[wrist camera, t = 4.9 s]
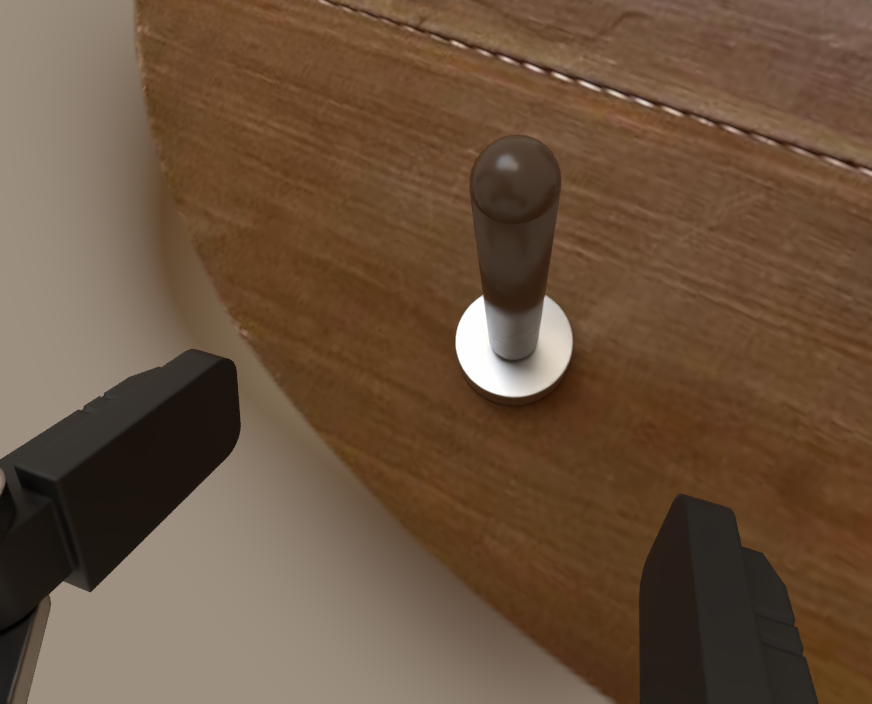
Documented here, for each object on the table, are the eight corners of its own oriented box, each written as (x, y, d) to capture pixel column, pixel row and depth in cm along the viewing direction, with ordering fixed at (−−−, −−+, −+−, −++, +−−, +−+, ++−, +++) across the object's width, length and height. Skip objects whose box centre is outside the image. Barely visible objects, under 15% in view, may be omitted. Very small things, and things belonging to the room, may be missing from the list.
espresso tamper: (444, 388, 22) (364, 235, 10) (475, 289, 23) (436, 43, 11) (554, 419, 21) (610, 290, 9) (581, 314, 22) (663, 75, 10)
